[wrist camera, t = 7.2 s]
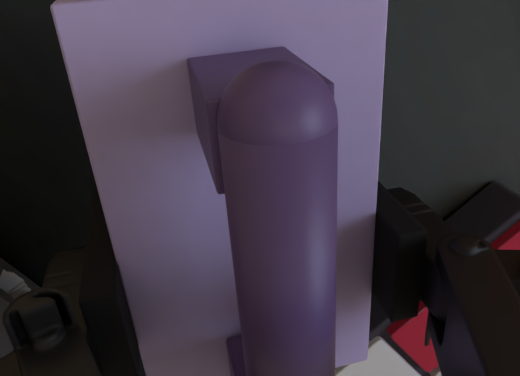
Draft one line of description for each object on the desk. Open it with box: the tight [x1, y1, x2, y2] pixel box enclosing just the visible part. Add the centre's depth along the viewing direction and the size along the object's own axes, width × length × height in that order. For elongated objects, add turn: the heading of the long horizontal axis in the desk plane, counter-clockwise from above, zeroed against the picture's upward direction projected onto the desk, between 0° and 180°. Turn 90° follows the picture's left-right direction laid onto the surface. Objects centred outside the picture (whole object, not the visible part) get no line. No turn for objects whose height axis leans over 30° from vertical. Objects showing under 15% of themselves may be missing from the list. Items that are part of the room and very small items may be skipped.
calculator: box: [335, 182, 520, 376], centre depth 30 cm, size 11×4×15 cm
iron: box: [50, 0, 388, 376], centre depth 13 cm, size 14×6×10 cm, turn 4°
